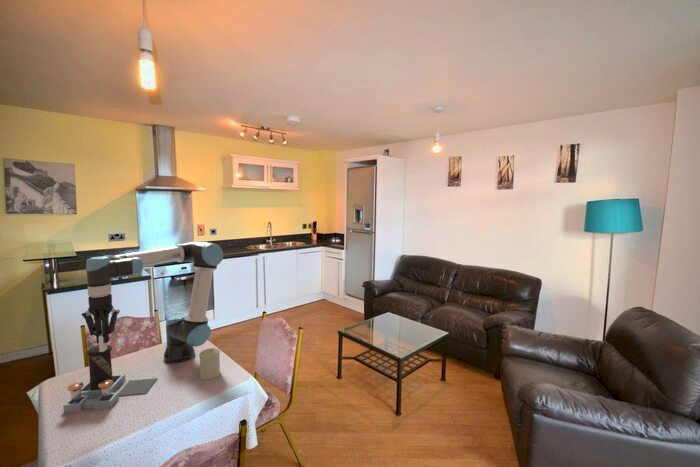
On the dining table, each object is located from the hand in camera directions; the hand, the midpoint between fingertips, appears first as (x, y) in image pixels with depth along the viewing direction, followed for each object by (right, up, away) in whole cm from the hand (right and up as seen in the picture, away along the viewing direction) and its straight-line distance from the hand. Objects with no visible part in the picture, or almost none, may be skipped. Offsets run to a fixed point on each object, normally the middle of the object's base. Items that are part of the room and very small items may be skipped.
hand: (103, 350), depth 130 cm
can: (+33, -22, +26) cm, 47 cm away
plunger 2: (0, -21, +2) cm, 21 cm away
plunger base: (-6, -24, +1) cm, 24 cm away
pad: (+4, -23, +14) cm, 27 cm away
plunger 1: (-11, -21, 0) cm, 24 cm away
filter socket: (-11, -23, +12) cm, 28 cm away
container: (-11, -23, +13) cm, 28 cm away
